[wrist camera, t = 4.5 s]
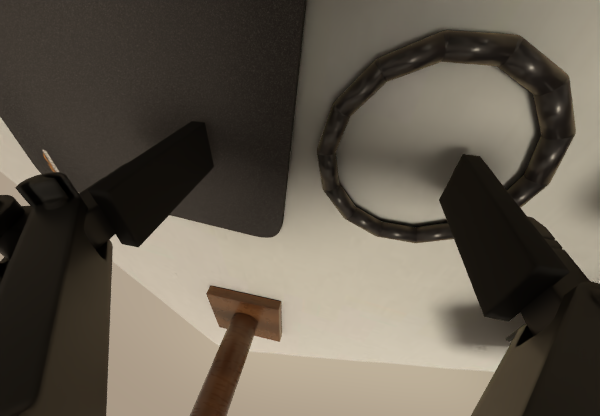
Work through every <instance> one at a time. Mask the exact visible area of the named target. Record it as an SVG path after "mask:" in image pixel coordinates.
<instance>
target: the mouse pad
mask: <svg viewBox="0 0 600 416" xmlns="http://www.w3.org/2000/svg"><path fill="white" fill-rule="evenodd" d="M305 8H306V0H0V117H1V118H2V120H3V121H4V122H5V124H6V125H7V127H8V128H9V130H10V131H11V132H12V134H13V135H14V137H15V138H16V140H17V141H18V143H19V144H20V145H21V147H22V148H23V150H24V151H25V153H26V154H27V156H28V157H29V158H30V160H31V161H32V163H33V164H34V165H35V167H36V168H37V169H38V170H39V172H40V173H41V174H45V173H53V172H57V173H63V174H65V175H67V177H68V178H69V180H70V181H71V183H72V184H73V186H74V187H75V189H76V190H77V192H79V193H80V192H82V191H83V190H85V189H86V188H88V187H90V186H91V185H93V184H94V183H96V182H97V181H99V180H100V179H102V178H103V177H107V175H108V174H110V173H111V172H114V171H115V170H116V169H117V168H119V167H120V166H122V165H123V164H126V163H128V162H130V161H131V160H133V159H135V158H136V157H138V156H139V155H141V154H142V153H144V152H145V151H147V150H148V149H150V148H151V147H153V146H154V145H156V144H157V143H159V142H161V141H162V140H164V139H165V138H167V137H168V136H170V135H171V134H173V133H174V132H176V131H177V130H179V129H180V128H182V127H183V126H185V125H186V124H188V123H190V122H191V121H196V122H205V125H206V130H207V135H208V140H209V144H210V149H211V154H212V159H213V164H214V168H213V169H212V170H211V171H210V172H209V173H208V174H207V175H206V176H205V177H204V178H203V179H202V181H201V182H200V183H199V184H198V185H197V186H196V187H195V188H194V189H193V190H192V191H191V192H190V193H189V194H188V195H187V196H186V197H185V199H184V200H183V201H182V202H181V203H180V204H179V205H178V206H177V207H176V208H175V209H174V210H173V211H172V212H171V213H170V214H169V215H172V216H176V217H180V218H184V219H188V220H192V221H196V222H200V223H204V224H208V225H212V226H216V227H220V228H224V229H228V230H233V231H237V232H241V233H245V234H249V235H253V236H257V237H266V238H267V237H273V236H275V235H277V234H278V233H279V231H280V229H281V227H282V224H283V216H284V207H285V198H286V188H287V179H288V169H289V160H290V151H291V141H292V132H293V122H294V113H295V104H296V94H297V85H298V75H299V66H300V56H301V47H302V37H303V27H304V18H305Z"/></svg>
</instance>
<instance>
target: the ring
mask: <svg viewBox="0 0 600 416" xmlns="http://www.w3.org/2000/svg"><path fill="white" fill-rule="evenodd" d="M439 62H453V63H465V64H478V65H491V66H497V67H499V68H500V69H501V70H503V71H504V72H505V73H506V74H508V75H509V76H510V77H512V78H513V79H514V80H515V81H517V82H518V83H519V84H521V85H522V86H523V87H525V88H526V89H527V90H528V91H530V92H531V93H532V94H533V95H534V100H535V105H536V111H537V116H538V121H539V126H540V131H541V137H540V139H539V141H538V144H537V146H536V148H535V151H534V153H533V155H532V158H531V160H530V162H529V165H528V167H527V169H526V171H525V174H524V175H523V176H522V177H521V178H520V179H519V180H518V181H517V182H516V183H514V184H513V185H512V186H511V187H510V188H509V189H508V190H507V192H508V193H509V194H510V195H511V197H512V198H513V199H514V201H515V202H516V203H517V204H518V206H519V207H520V208H521V207H522V206H523V205H524V204H526V203H527V202H528V201H529V200H530V199H532V198H533V197H534V196H535V195H536V194H538V193H539V192H540V191H541V190H542V189H544V188H545V187H546V186H547V185H548V184H549V183H550V182H551V180H552V178H553V176H554V174H555V172H556V170H557V168H558V166H559V164H560V162H561V161H562V159H563V157H564V155H565V153H566V151H567V149H568V147H569V145H570V143H571V141H572V139H573V137H574V135H575V132H576V129H575V120H574V112H573V104H572V96H571V88H570V80H569V76H568V75H567V73H565V72H564V71H563V70H562V69H561V68H559V67H558V66H557V65H556V64H554V63H553V62H552V61H551V60H550V59H548V58H547V57H546V56H545V55H544V54H542V53H541V52H540V51H539V50H537V49H536V48H535V47H534V46H533V45H531V44H530V43H529V42H528V41H526V40H525V39H524V38H523V37H521V36H519V35H516V34H500V33H484V32H468V31H452V30H445V31H441V32H439V33H437V34H434V35H432V36H429V37H427V38H425V39H422V40H420V41H417V42H415V43H413V44H410V45H408V46H405V47H403V48H401V49H398V50H396V51H393V52H391V53H389V54H386V55H384V56H381V57H379V58H377V59H376V60H375V61H374V62H373V63H372V64H371V65H370V66H369V67H368V68H367V69H366V70H365V71H364V72H363V73H362V74H361V75H360V76H359V77H358V78H357V79H356V80H355V81H354V82H353V83H352V84H351V85H350V86H349V87H348V88H347V90H346V91H345V92H344V93H343V94H342V95H341V96H340V97H339V98H338V99H337V100H336V101H335V102H334V103H333V105H332V107H331V110H330V113H329V116H328V119H327V122H326V125H325V128H324V130H323V133H322V136H321V139H320V142H319V145H318V148H317V155H318V162H319V168H320V175H321V182H322V188H323V190H324V192H325V193H326V194H327V196H328V197H329V198H330V200H331V201H332V202H333V204H334V205H335V206H336V208H337V209H338V211H339V212H340V213H341V215H342V216H343V217H344V218H345V219H346V220H348V221H350V222H352V223H354V224H355V225H357V226H359V227H361V228H362V229H364V230H366V231H368V232H370V233H371V234H373V235H375V236H378V237H383V238H389V239H395V240H400V241H406V242H412V243H421V242H430V241H439V240H448V239H454V237H453V235H452V232H451V229H450V227H449V224H448V223H442V224H435V225H427V226H420V227H411V226H405V225H399V224H393V223H387V222H381V221H380V220H378V219H376V218H375V217H373V216H371V215H369V214H368V213H366V212H364V211H362V210H361V209H359V208H357V207H355V205H354V204H353V202H352V201H351V199H350V198H349V197H348V195H347V194H346V192H345V191H344V189H343V188H342V186H341V185H340V184H339V179H338V169H337V159H336V150H337V148H338V145H339V143H340V140H341V138H342V135H343V133H344V131H345V128H346V126H347V123H348V121H349V118H350V116H351V115H352V114H353V113H354V112H355V111H356V110H357V109H359V108H360V107H361V106H362V105H363V104H364V103H365V102H366V101H367V100H368V99H369V98H370V97H371V96H372V95H373V94H374V93H376V92H377V91H378V90H379V89H380V88H381V87H382V86H383V85H384V84H385V83H386V82H388V81H391V80H393V79H396V78H399V77H401V76H404V75H407V74H409V73H412V72H415V71H417V70H420V69H423V68H425V67H428V66H431V65H433V64H436V63H439Z"/></svg>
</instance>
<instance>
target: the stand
mask: <svg viewBox="0 0 600 416" xmlns="http://www.w3.org/2000/svg"><path fill="white" fill-rule="evenodd" d="M206 294H207V297H208V299H209V302H210V304H211V307H212V309H213V312H214V314H215V317H216V319H217V322H218V324H219V327H222V328H226V329H227V331H226V333H225V336H224V338H223V340H222V342H221V345H220V347H219V350H218V352H217V354H216V357H215V359H214V361H213V363H212V366H211V368H210V370H209V373H208V375H207V377H206V379H205V382H204V384H203V386H202V389H201V391H200V393H199V396H198V398H197V400H196V403H195V405H194V407H193V410H192V412H191V414H190V416H227V413H228V409H229V407H230V404H231V401H232V398H233V395H234V392H235V389H236V386H237V383H238V381H239V377H240V374H241V372H242V369H243V366H244V363H245V360H246V357H247V354H248V352H249V349H250V346H251V343H252V340H253V337H254V336H258V337H262V338H267V339H271V340H275V341H279V342H280V339H281V336H282V319H281V301H276V300H272V299H267V298H263V297H258V296H254V295H249V294H245V293H241V292H236V291H232V290H227V289H223V288H218V287H214V286H210V288H209V290H208V291H207V293H206Z"/></svg>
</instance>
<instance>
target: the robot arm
mask: <svg viewBox="0 0 600 416" xmlns="http://www.w3.org/2000/svg"><path fill="white" fill-rule="evenodd" d="M213 168H214V164H213V159H212V154H211V149H210V144H209V140H208V135H207V130H206V125H205V122H196V121H191V122H190V123H188V124H186V125H185V126H183V127H182V128H180V129H179V130H177V131H176V132H174V133H173V134H171V135H170V136H168V137H167V138H165V139H164V140H162V141H161V142H159V143H157V144H156V145H154V146H153V147H151V148H150V149H148V150H147V151H145V152H144V153H142V154H141V155H139V156H138V157H136V158H135V159H133V160H131V161H130V162H128V163H126V164H123V165H122V166H120V167H119V168H117V169H116V170H115V171H114V172H111V173H110V174H108V175H107V177H103V178H102V179H100V180H99V181H97V182H96V183H94V184H93V185H91V186H90V187H88V188H86V189H85V190H83V191H82V192H80V193H78V192H77V190H76V189H75V187H74V186H73V184H72V183H71V181H70V180H69V178H68V177H67V175H65V174H63V173H57V172H53V173H45V174H41V175H37V176H34V177H31V178H29V179H26V180H25V181H23V182H21V183H20V184H19V185H18V186H17V187H16V189H17V190H18V192H19V193H20V194H21V195H22V196H23V197H24V198H25V200H26V201H27V202H28V203H29V204H30V206H21V205H20V204H19V203H18V202H17V201H16V200H15V199H14V197H12V196H9V195H0V253H1V254H2V255H3V256H4V258H3V259H2V261H0V416H106V404H107V378H108V352H109V326H110V301H111V299H110V298H111V274H112V249H113V246H112V243H111V241H110V240H109V239H110V238H111V237H112V236H113V235H114V234H116V235H117V237H118V238H119V240H120V242H121V243H122V244H125V245H130V246H135V247H139V246H140V245H141V244H142V243H143V242H144V241H145V240H146V239H147V238H148V237H149V236H150V235H151V233H152V232H153V231H154V230H155V229H156V228H157V227H158V226H159V225H160V224H161V223H162V222H163V221H164V220H165V219H166V218H167V217H168V215H169V214H170V213H171V212H172V211H173V210H174V209H175V208H176V207H177V206H178V205H179V204H180V203H181V202H182V201H183V200H184V199H185V197H186V196H187V195H188V194H189V193H190V192H191V191H192V190H193V189H194V188H195V187H196V186H197V185H198V184H199V183H200V182H201V181H202V179H203V178H204V177H205V176H206V175H207V174H208V173H209V172H210V171H211V170H212V169H213ZM439 201H440V204H441V206H442V209H443V211H444V214H445V216H446V219H447V222H448V224H449V227H450V229H451V232H452V235H453V237H454V240H455V242H456V245H457V247H458V250H459V253H460V255H461V258H462V260H463V263H464V265H465V268H466V271H467V273H468V276H469V278H470V281H471V283H472V286H473V289H474V291H475V294H476V296H477V299H478V301H479V304H480V307H481V309H482V312H483V314H484V317H489V318H494V319H499V320H504V321H510V320H511V319H513V318H514V317H515V316H516V315H517V314H519V313H520V312H521V314H522V316H523V318H524V320H525V322H526V324H525V325H523V326H522V327H520V328H519V329H518V330H516V331H515V332H514V333H512V334H511V335H510V336H508V337H507V338H506V340H508V341H511V340H512V339H513V341H512V343H511V344H510V346H509V348H508V350H507V352H506V353H505V355H504V357H503V359H502V361H501V362H500V364H499V366H498V368H497V370H496V371H495V374H494V375H493V377H492V379H491V380H490V382H489V384H488V386H487V388H486V390H485V391H484V393H483V395H482V397H481V399H480V400H479V402H478V404H477V406H476V408H475V409H474V411H473V413H472V415H471V416H600V284H598V283H594V282H590V280H589V279H588V278H587V277H586V276H585V274H584V273H583V272H582V271H581V270H580V268H579V267H578V266H577V265H576V264H575V262H574V261H573V260H572V259H571V257H570V256H569V255H568V254H567V253H566V251H565V250H562V247H561V245H560V244H559V243H558V242H557V241H555V238H554V237H553V236H552V234H551V233H550V232H549V231H548V230H547V228H546V227H544V226H543V225H542V224H540V223H539V222H538V221H536V220H535V219H534V218H532V217H527V216H526V215H525V213H524V212H523V211H522V210H521V208H520V207H519V206H518V204H517V203H516V202H515V201H514V199H513V198H512V197H511V195H510V194H509V193H508V192H507V190H506V189H505V188H504V186H503V185H502V184H501V183H500V181H499V180H498V179H497V177H496V176H495V175H494V174H493V172H492V171H491V170H490V168H489V167H488V166H487V165H486V163H485V162H484V161H483V159H482V158H481V157H480V156H474V155H466V154H462V156H461V158H460V160H459V162H458V164H457V166H456V168H455V170H454V172H453V174H452V176H451V178H450V180H449V182H448V184H447V186H446V188H445V190H444V192H443V194H442V195H441V197H440V199H439Z"/></svg>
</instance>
